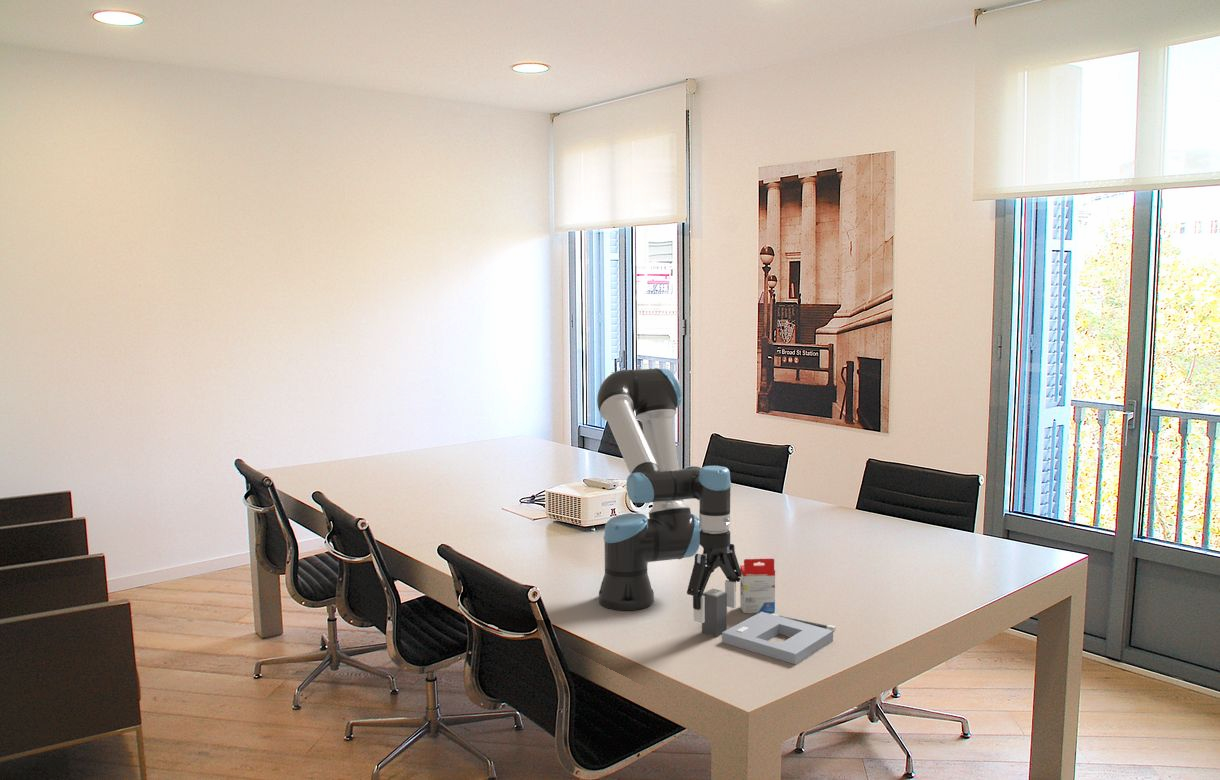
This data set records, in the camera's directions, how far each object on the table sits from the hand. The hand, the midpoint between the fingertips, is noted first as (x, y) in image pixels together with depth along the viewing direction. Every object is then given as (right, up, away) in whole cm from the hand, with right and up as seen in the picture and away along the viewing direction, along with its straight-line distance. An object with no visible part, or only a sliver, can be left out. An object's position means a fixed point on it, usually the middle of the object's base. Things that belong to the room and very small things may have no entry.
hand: (715, 614), depth 223 cm
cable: (+23, -4, +6) cm, 24 cm away
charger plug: (0, -5, +1) cm, 5 cm away
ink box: (+13, -3, +16) cm, 21 cm away
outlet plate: (+15, -5, -5) cm, 16 cm away
